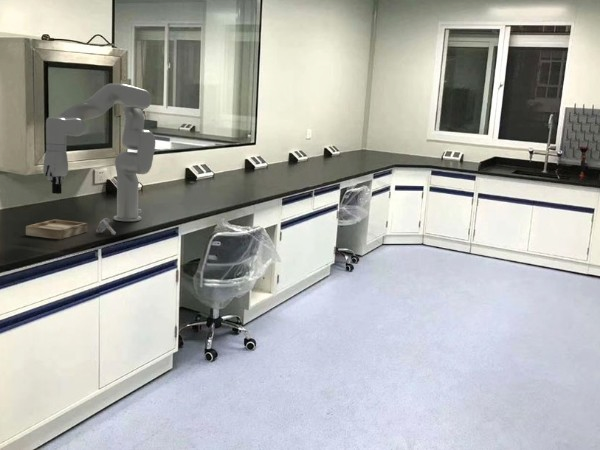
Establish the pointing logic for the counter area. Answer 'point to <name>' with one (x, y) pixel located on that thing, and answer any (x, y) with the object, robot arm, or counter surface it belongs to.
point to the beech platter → (56, 229)
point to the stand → (105, 226)
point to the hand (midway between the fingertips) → (56, 193)
